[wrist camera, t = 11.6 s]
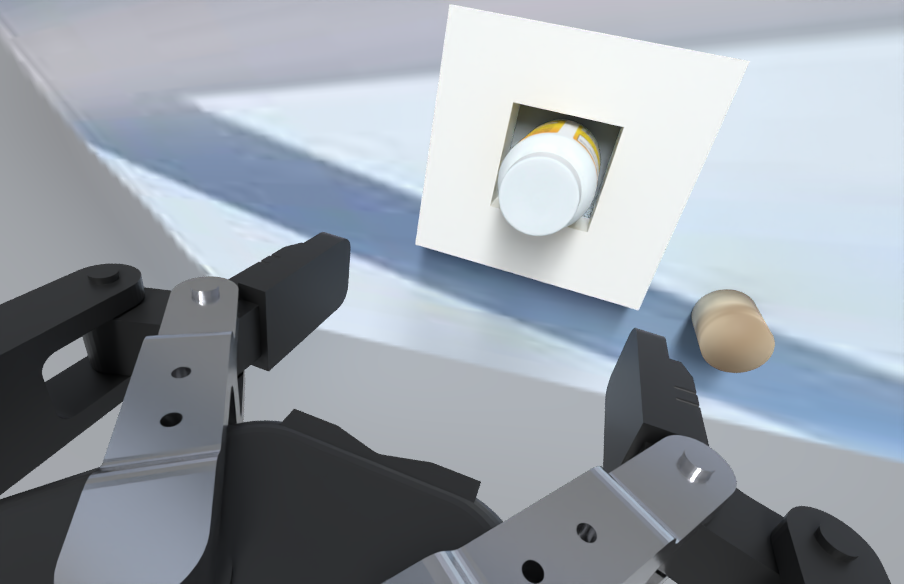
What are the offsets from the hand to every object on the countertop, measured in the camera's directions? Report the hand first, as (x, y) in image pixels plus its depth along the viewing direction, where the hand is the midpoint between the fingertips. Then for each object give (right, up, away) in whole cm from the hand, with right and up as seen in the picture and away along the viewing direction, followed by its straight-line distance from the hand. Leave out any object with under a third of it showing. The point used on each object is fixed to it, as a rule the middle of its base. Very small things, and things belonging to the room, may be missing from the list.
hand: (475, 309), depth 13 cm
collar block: (+6, +9, +18) cm, 21 cm away
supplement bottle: (+7, +9, +18) cm, 22 cm away
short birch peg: (+18, -1, +19) cm, 27 cm away
